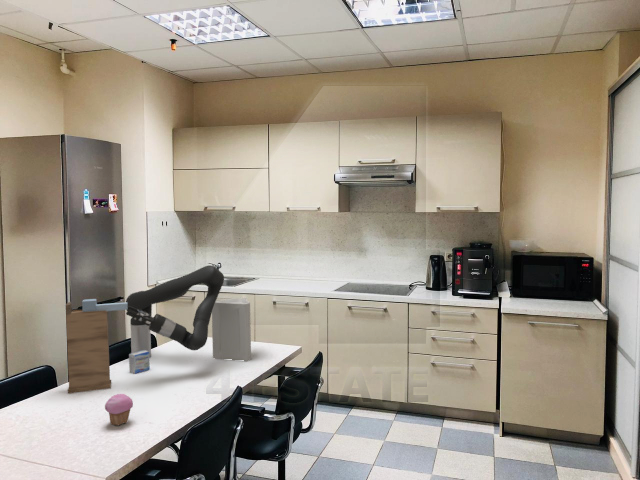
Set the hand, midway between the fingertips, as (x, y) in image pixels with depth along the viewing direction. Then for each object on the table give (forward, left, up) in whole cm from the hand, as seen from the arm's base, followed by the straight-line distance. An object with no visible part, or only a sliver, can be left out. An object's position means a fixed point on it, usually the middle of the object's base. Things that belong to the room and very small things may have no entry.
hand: (127, 309), depth 211 cm
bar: (0, -8, 0) cm, 8 cm away
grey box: (-23, +50, -32) cm, 64 cm away
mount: (0, -15, -32) cm, 35 cm away
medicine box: (-16, +4, -32) cm, 36 cm away
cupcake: (+42, -3, -32) cm, 53 cm away
